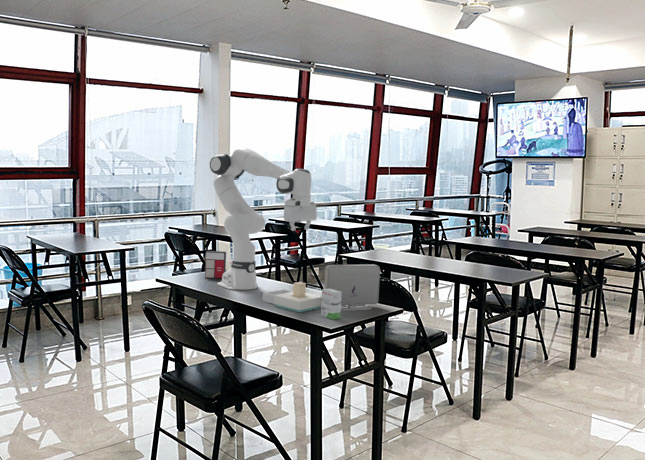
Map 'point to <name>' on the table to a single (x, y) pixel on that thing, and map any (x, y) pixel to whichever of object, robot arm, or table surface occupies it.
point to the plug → (299, 289)
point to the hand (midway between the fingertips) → (300, 229)
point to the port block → (297, 302)
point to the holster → (273, 295)
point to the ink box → (331, 303)
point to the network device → (354, 284)
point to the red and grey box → (215, 264)
